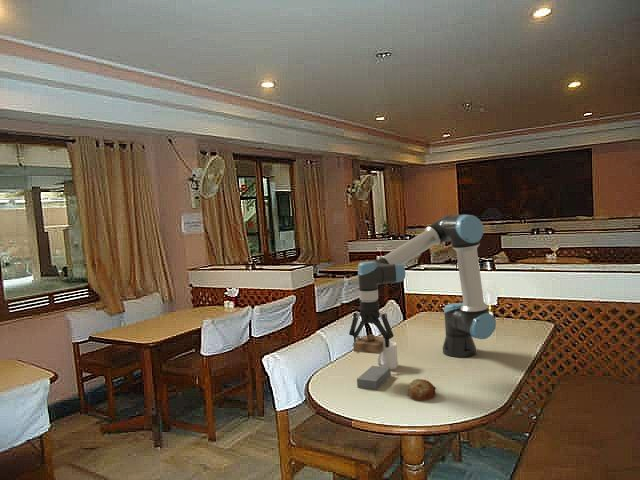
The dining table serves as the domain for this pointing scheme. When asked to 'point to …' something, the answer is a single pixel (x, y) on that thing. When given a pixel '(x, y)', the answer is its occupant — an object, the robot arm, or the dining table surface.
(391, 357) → the mug
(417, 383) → the bread roll
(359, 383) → the grey flat block
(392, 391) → the dining table surface
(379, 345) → the lid
